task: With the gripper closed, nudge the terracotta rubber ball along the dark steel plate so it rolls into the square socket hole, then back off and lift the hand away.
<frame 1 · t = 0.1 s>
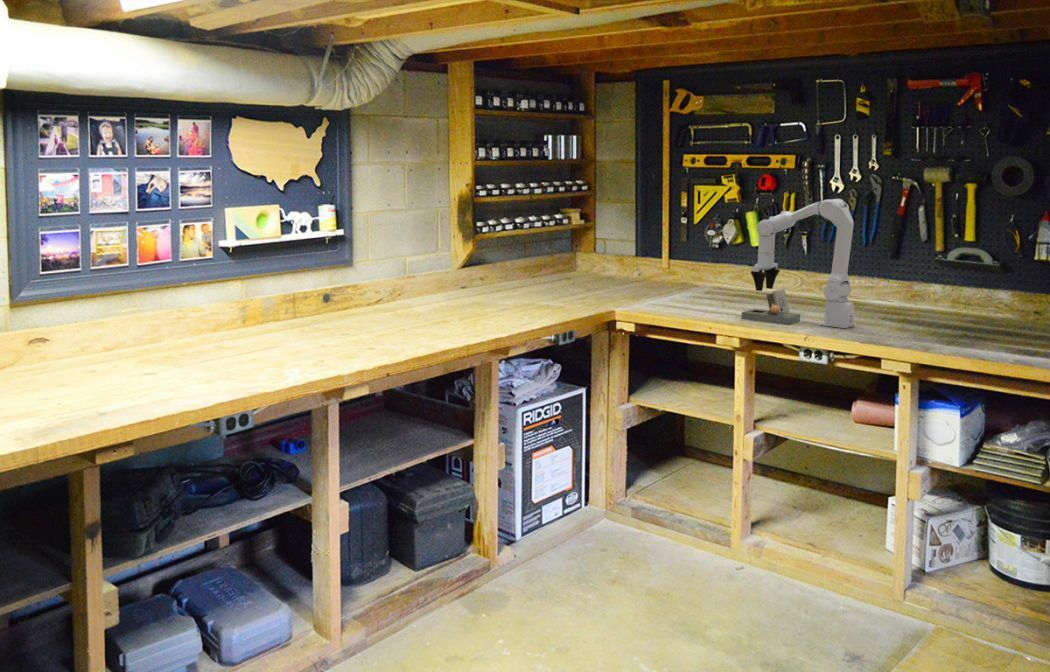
hand: (764, 289, 350), 10 cm above the workbench, fingers open, 7 cm apart
electrical switch: (777, 314, 358), on the workbench
ball: (775, 309, 343), point 4 cm above the workbench, touching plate
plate: (770, 319, 345), on the workbench
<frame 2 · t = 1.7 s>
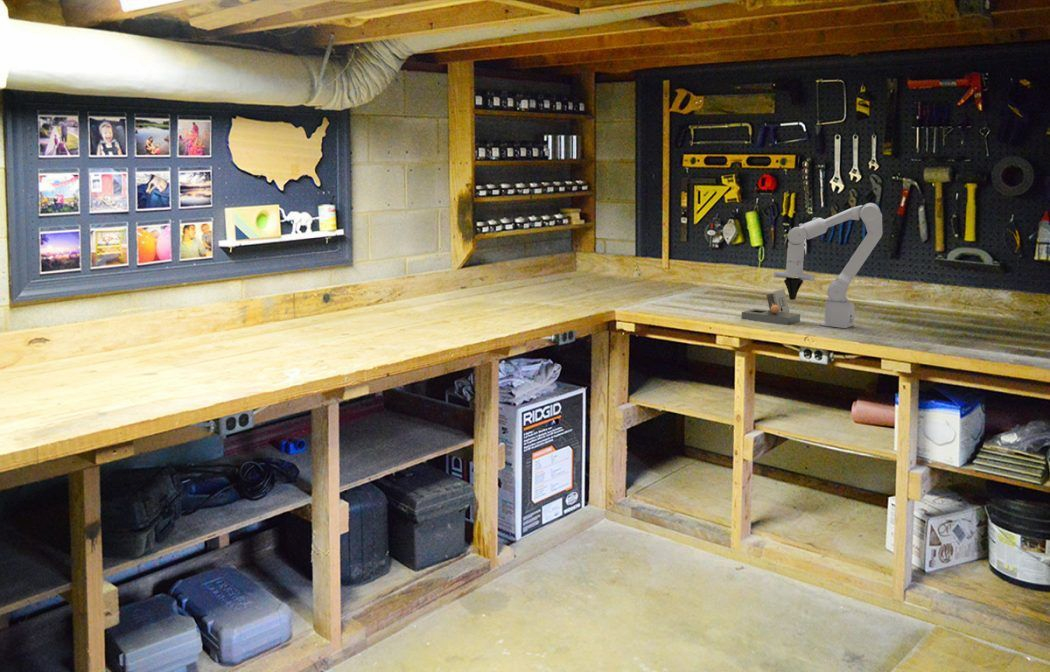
hand: (792, 299, 338), 8 cm above the workbench, fingers closed
nothing on the workbench moved.
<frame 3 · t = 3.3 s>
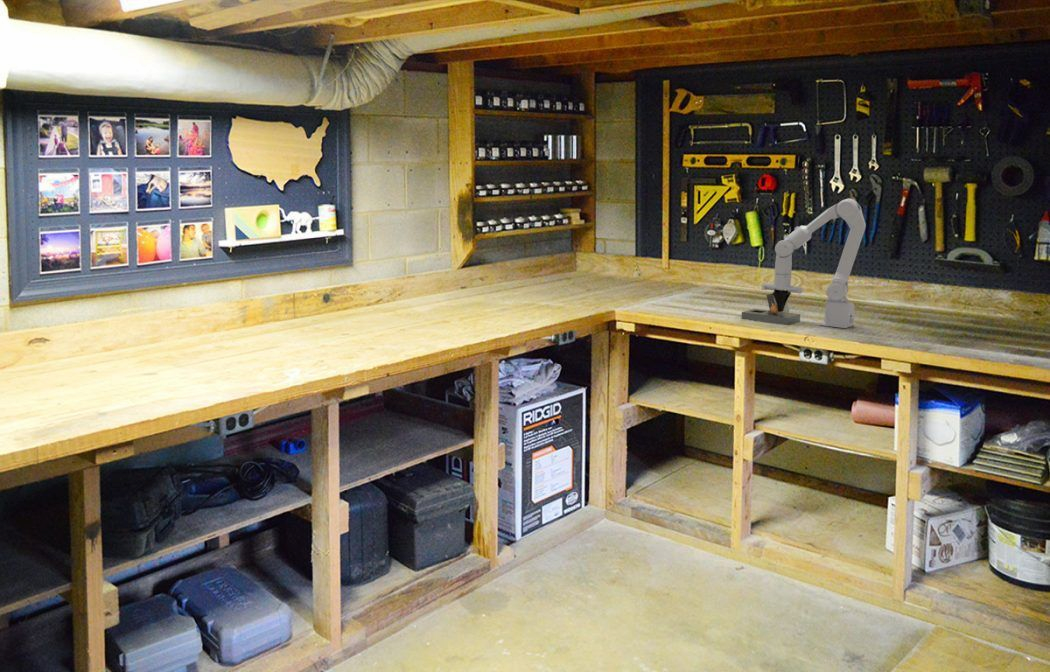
hand: (780, 311, 342), 4 cm above the workbench, fingers closed, pressing on ball
ball: (774, 309, 343), point 4 cm above the workbench, touching gripper, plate
everything else where it was.
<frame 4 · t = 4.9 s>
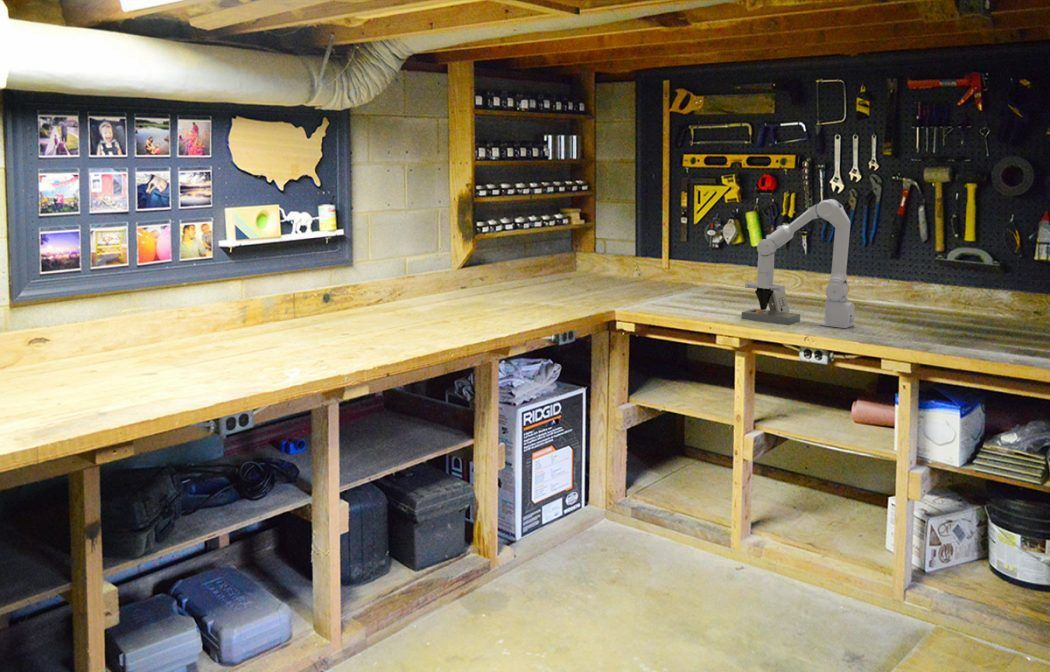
hand: (763, 309, 346), 4 cm above the workbench, fingers closed
ball: (759, 314, 347), point 2 cm above the workbench, tilted 175°
everything else where it was.
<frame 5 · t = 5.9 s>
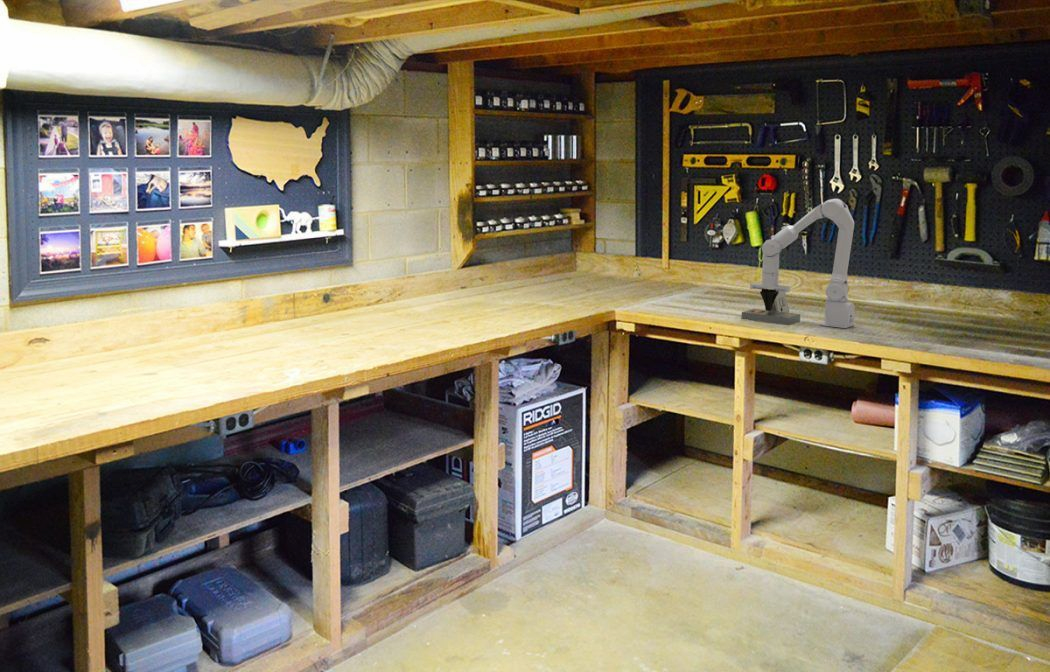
hand: (768, 310, 345), 3 cm above the workbench, fingers closed
ball: (757, 313, 348), point 2 cm above the workbench, tilted 154°
everything else where it was.
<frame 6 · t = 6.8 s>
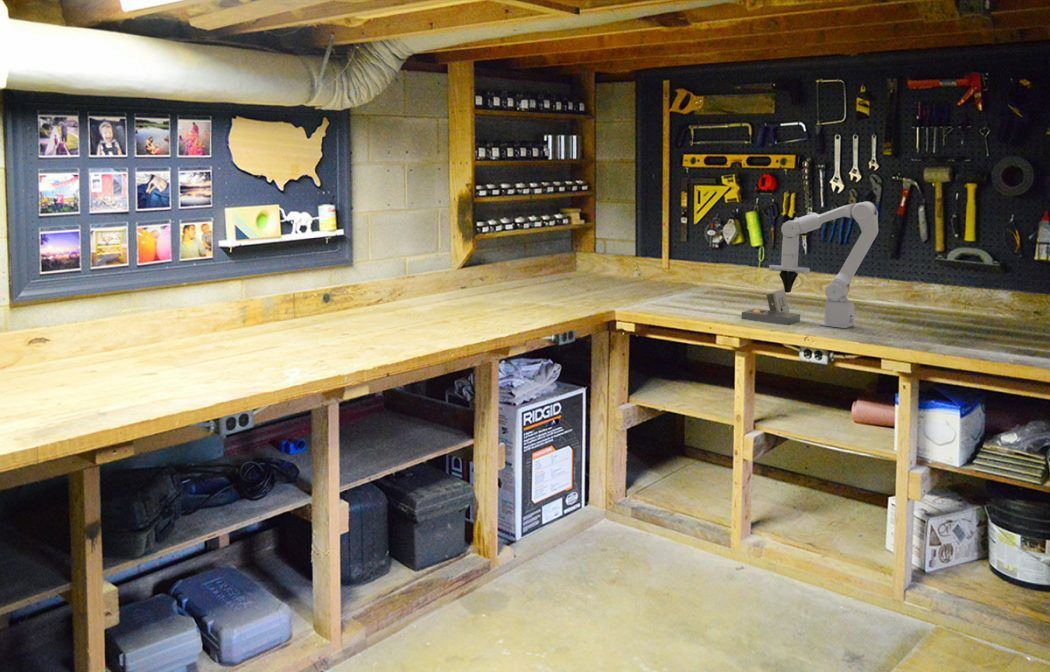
hand: (787, 292, 341), 10 cm above the workbench, fingers closed
ball: (756, 313, 348), point 2 cm above the workbench, tilted 135°
everything else where it was.
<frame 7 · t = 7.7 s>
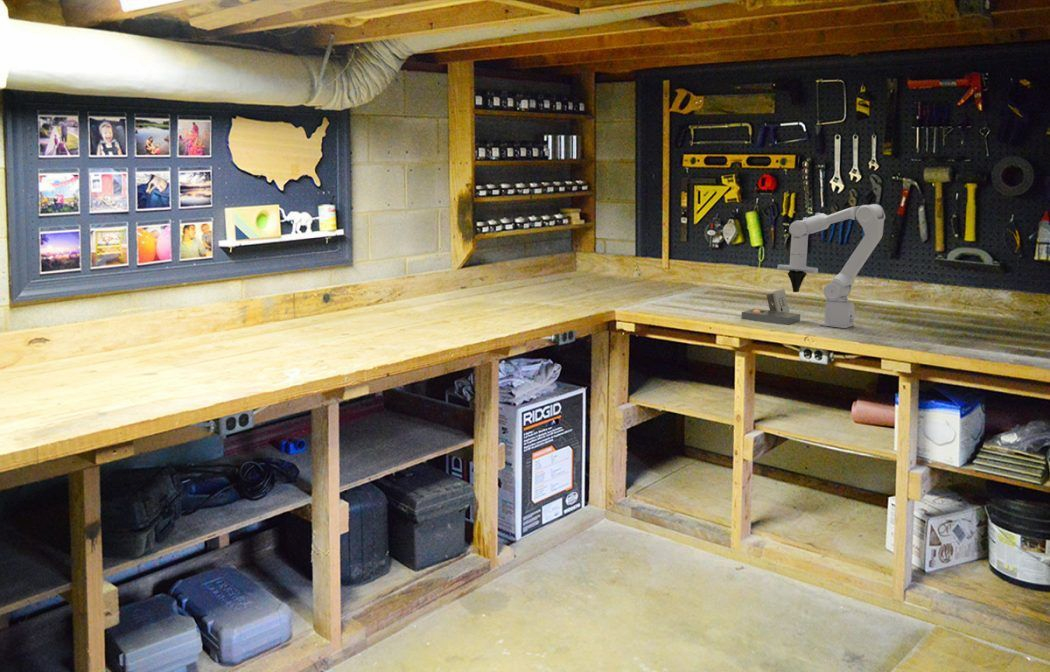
hand: (795, 291, 342), 10 cm above the workbench, fingers closed
nothing on the workbench moved.
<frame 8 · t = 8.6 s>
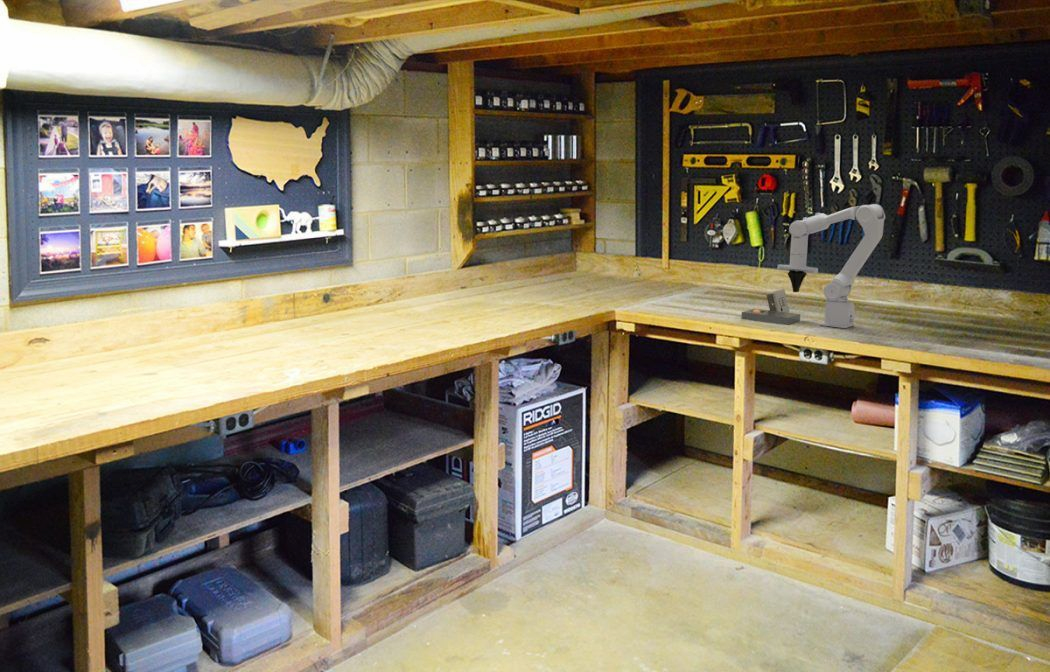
hand: (795, 291, 342), 10 cm above the workbench, fingers closed
nothing on the workbench moved.
at the end: ball 0.6 cm from the target spot on the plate, point 1.6 cm above the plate's base; ball point 1.6 cm above the workbench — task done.
